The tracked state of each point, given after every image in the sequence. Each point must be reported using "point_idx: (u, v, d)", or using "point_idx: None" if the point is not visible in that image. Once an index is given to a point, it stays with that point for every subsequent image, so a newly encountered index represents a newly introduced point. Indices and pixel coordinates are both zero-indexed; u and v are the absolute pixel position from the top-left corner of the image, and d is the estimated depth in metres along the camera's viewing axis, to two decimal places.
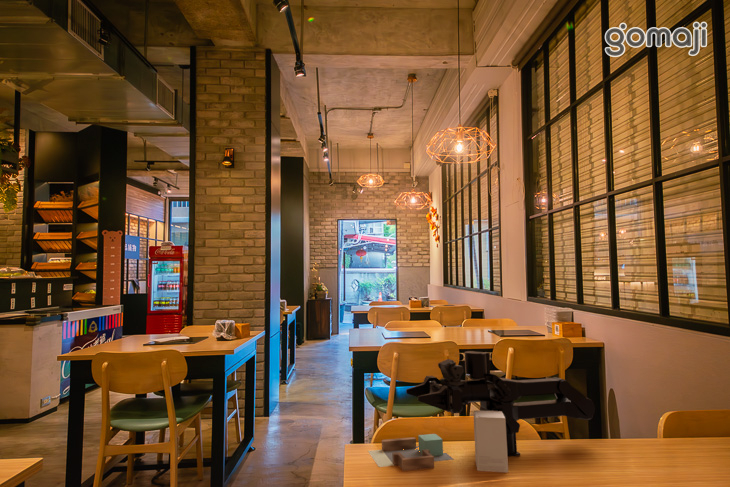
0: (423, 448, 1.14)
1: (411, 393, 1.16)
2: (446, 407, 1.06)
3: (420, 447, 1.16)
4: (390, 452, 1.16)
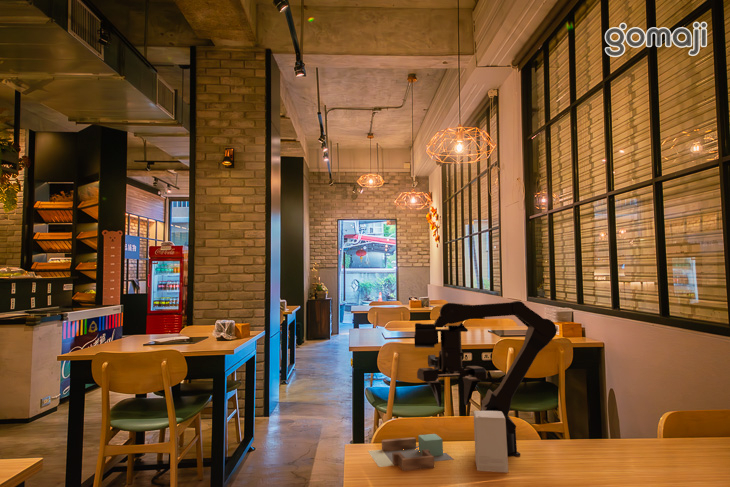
0: (423, 448, 1.14)
1: (466, 399, 1.19)
2: None
3: (420, 447, 1.16)
4: (390, 452, 1.16)
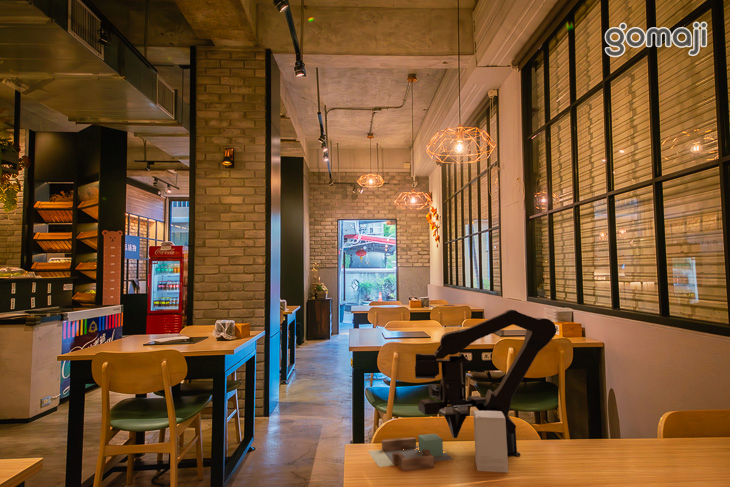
0: (423, 448, 1.14)
1: None
2: None
3: (420, 447, 1.16)
4: (390, 452, 1.16)
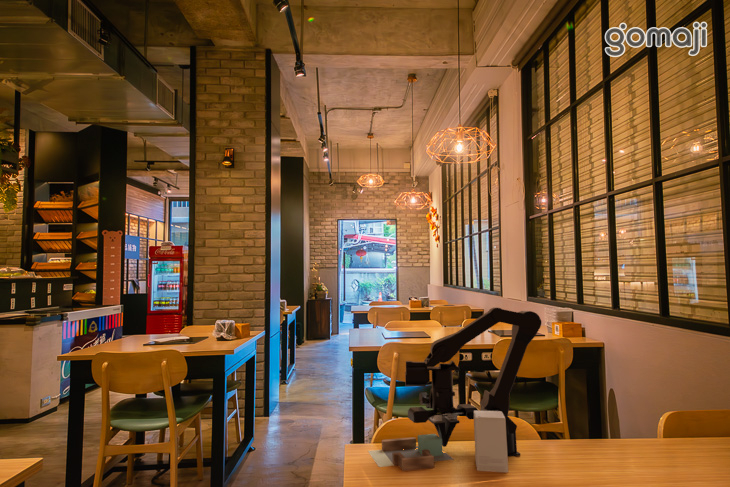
0: (422, 448, 1.14)
1: None
2: None
3: (419, 447, 1.16)
4: (390, 452, 1.16)
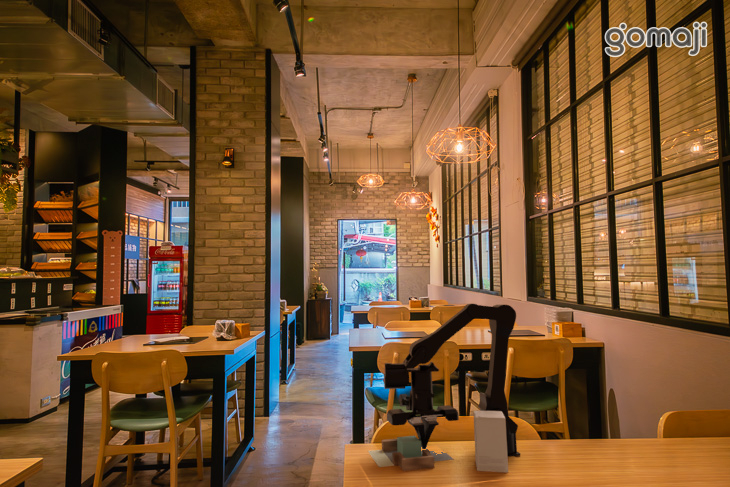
0: (401, 450, 1.12)
1: None
2: None
3: (399, 449, 1.14)
4: (390, 452, 1.16)
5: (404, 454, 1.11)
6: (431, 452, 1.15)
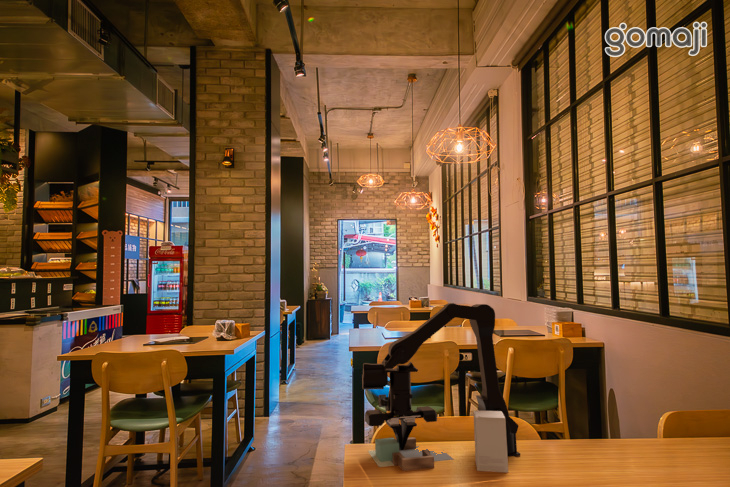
0: (379, 452, 1.11)
1: None
2: None
3: (376, 451, 1.13)
4: None
5: (382, 456, 1.09)
6: (431, 452, 1.15)
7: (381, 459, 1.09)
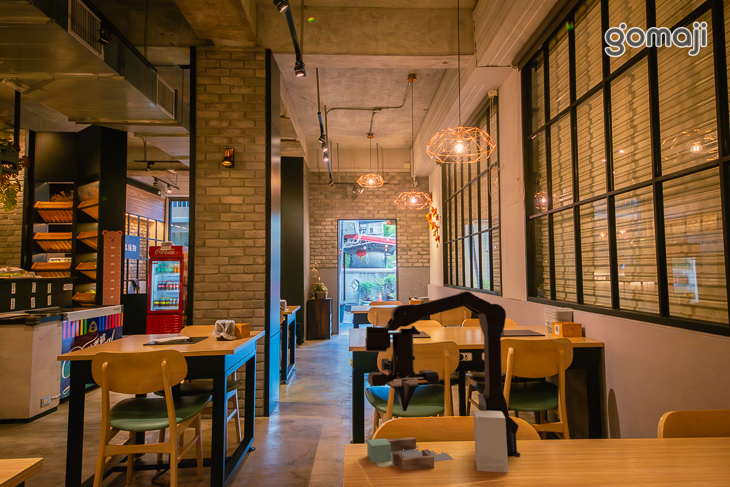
0: (370, 453, 1.10)
1: None
2: None
3: (368, 452, 1.12)
4: None
5: (373, 457, 1.09)
6: (431, 452, 1.15)
7: (373, 460, 1.09)
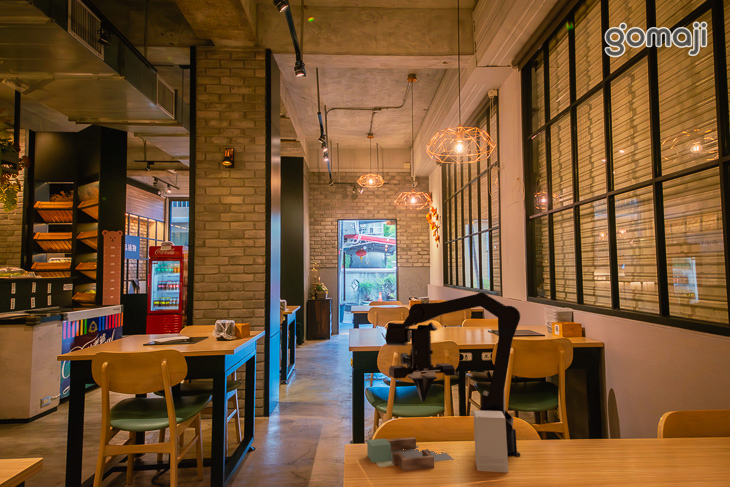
0: (370, 453, 1.10)
1: None
2: None
3: (368, 452, 1.12)
4: None
5: (373, 457, 1.09)
6: (431, 452, 1.15)
7: (373, 460, 1.09)
